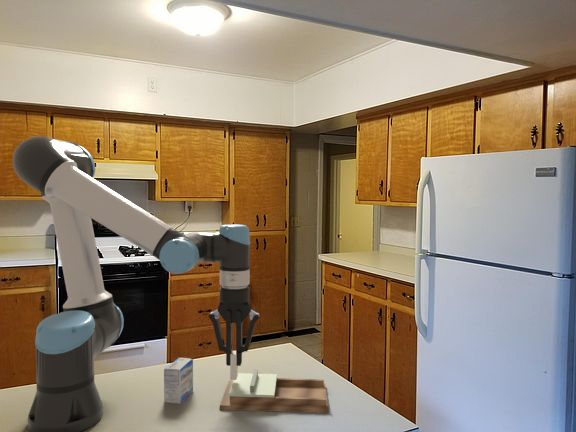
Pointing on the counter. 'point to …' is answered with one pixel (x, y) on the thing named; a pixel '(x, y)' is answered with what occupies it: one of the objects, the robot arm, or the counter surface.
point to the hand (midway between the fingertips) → (234, 377)
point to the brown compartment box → (283, 397)
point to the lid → (254, 385)
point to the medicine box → (178, 380)
